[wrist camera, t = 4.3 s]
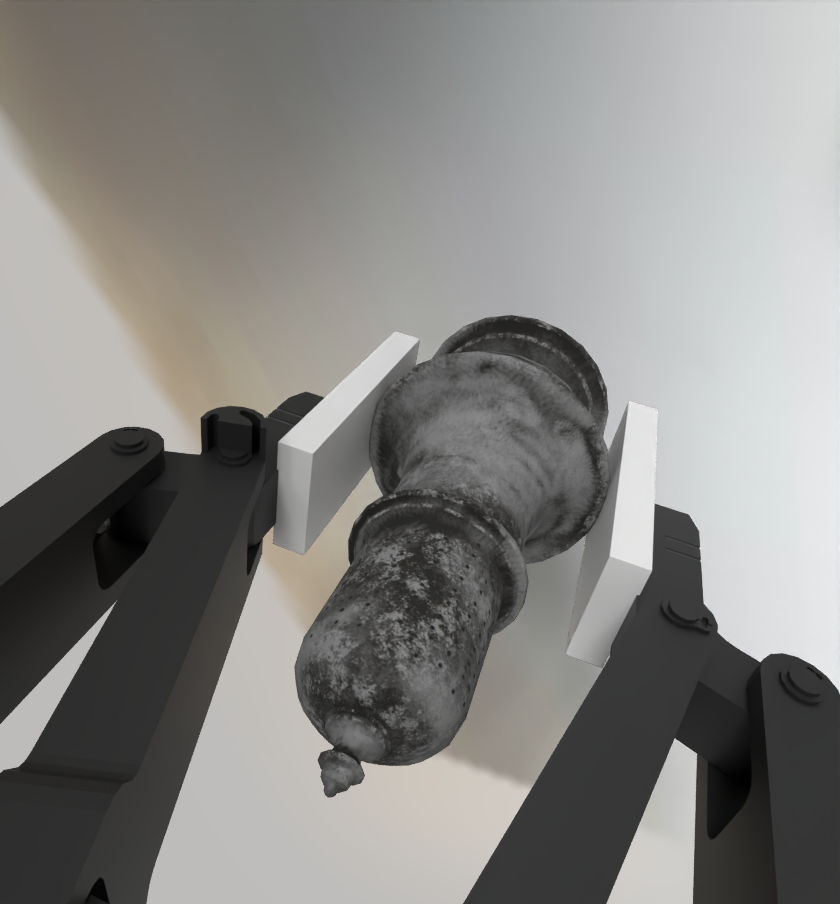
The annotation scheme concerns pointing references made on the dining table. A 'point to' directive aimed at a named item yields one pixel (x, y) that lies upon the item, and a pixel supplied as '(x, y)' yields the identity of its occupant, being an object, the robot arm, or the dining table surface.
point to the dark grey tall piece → (452, 537)
